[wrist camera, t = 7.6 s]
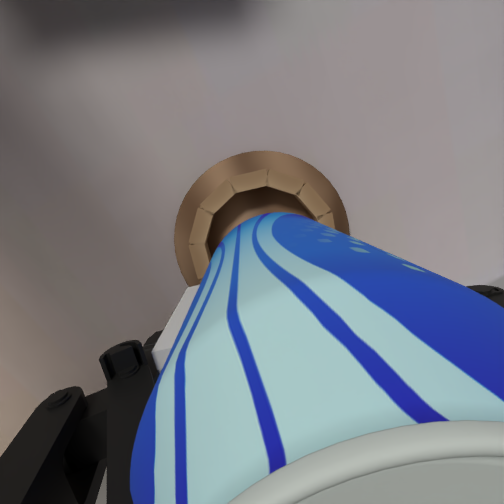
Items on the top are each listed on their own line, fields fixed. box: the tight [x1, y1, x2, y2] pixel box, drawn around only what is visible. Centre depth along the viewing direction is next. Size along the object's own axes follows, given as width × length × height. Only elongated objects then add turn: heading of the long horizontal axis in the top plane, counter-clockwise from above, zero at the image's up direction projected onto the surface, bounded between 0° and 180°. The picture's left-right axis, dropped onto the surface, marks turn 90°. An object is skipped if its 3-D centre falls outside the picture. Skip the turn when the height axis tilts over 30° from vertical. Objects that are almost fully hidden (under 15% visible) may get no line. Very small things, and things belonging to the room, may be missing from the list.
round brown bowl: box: [174, 151, 349, 287], centre depth 30 cm, size 18×18×3 cm
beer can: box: [130, 212, 504, 504], centre depth 11 cm, size 8×8×16 cm
